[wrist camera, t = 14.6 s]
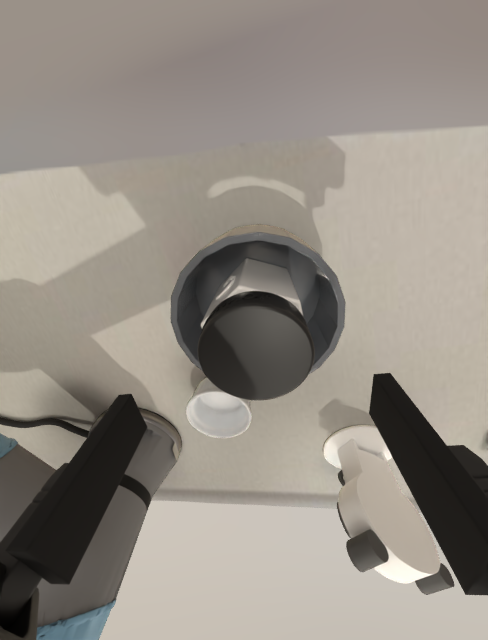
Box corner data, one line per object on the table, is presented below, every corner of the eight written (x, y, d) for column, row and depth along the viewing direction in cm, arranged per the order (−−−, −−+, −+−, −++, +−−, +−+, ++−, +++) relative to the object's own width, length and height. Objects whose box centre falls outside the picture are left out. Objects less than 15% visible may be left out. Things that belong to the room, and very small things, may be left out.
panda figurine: (306, 452, 40) (329, 579, 26) (350, 413, 35) (406, 545, 21) (361, 476, 42) (408, 605, 28) (410, 442, 37) (496, 579, 23)
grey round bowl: (208, 352, 31) (194, 393, 25) (177, 236, 25) (146, 249, 18) (323, 342, 29) (341, 383, 23) (323, 213, 23) (349, 217, 16)
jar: (259, 240, 24) (259, 271, 13) (310, 293, 26) (346, 356, 15) (205, 297, 27) (169, 360, 16) (254, 340, 29) (251, 419, 19)
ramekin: (184, 376, 33) (174, 398, 30) (242, 364, 32) (240, 386, 28) (206, 417, 37) (200, 442, 33) (259, 408, 35) (259, 433, 32)
